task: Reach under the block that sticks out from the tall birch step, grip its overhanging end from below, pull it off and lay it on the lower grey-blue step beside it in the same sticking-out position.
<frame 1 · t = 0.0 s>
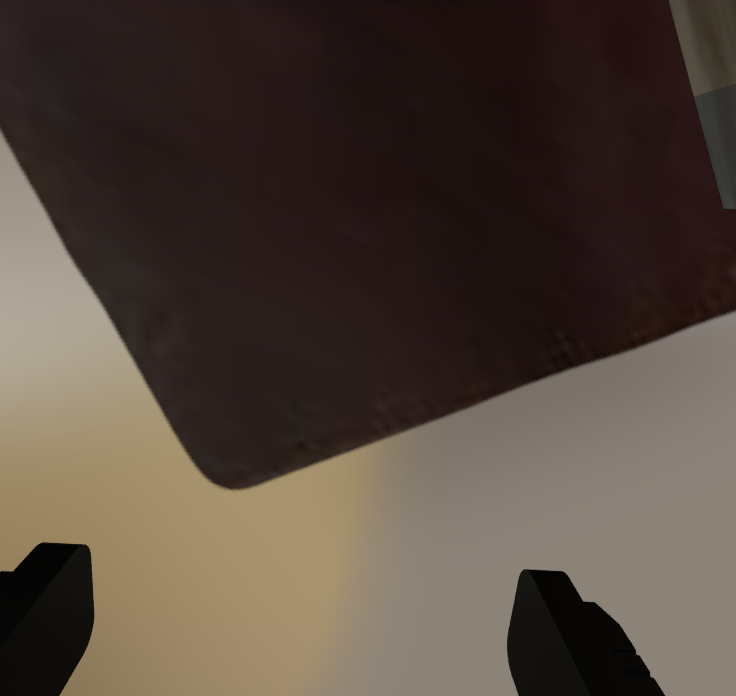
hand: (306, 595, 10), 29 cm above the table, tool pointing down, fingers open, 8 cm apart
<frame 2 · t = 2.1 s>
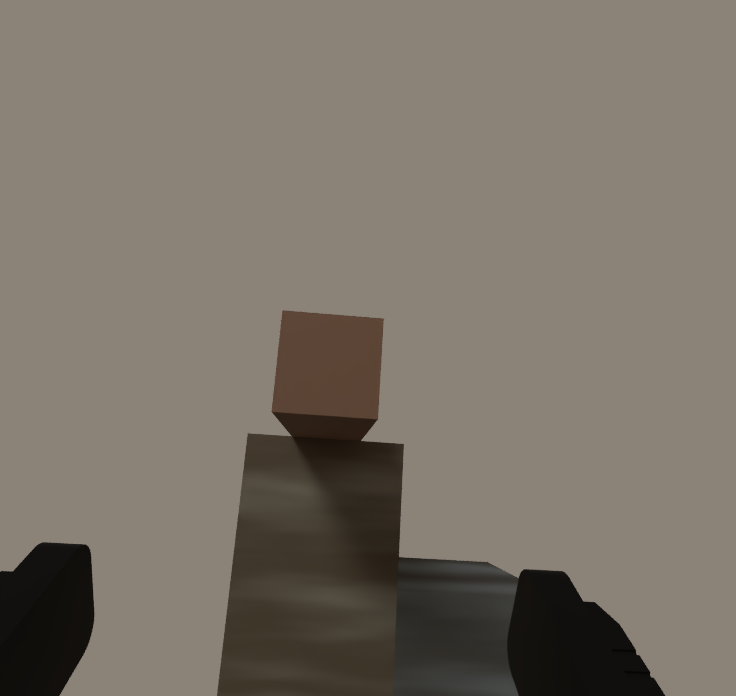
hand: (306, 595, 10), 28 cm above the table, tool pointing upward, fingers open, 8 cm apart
block: (326, 442, 30), point 32 cm above the table, touching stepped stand
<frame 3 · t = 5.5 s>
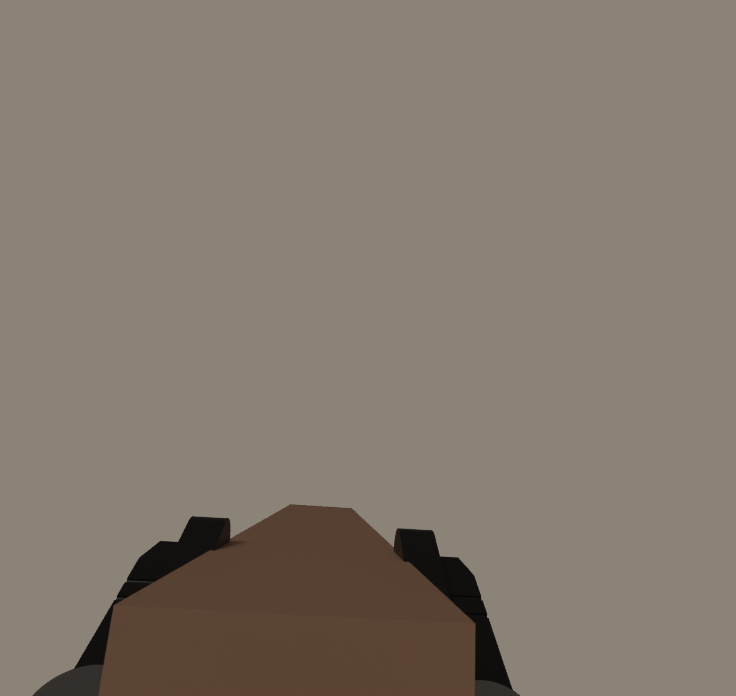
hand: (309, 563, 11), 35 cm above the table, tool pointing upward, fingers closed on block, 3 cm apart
block: (308, 637, 17), point 32 cm above the table, touching gripper, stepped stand
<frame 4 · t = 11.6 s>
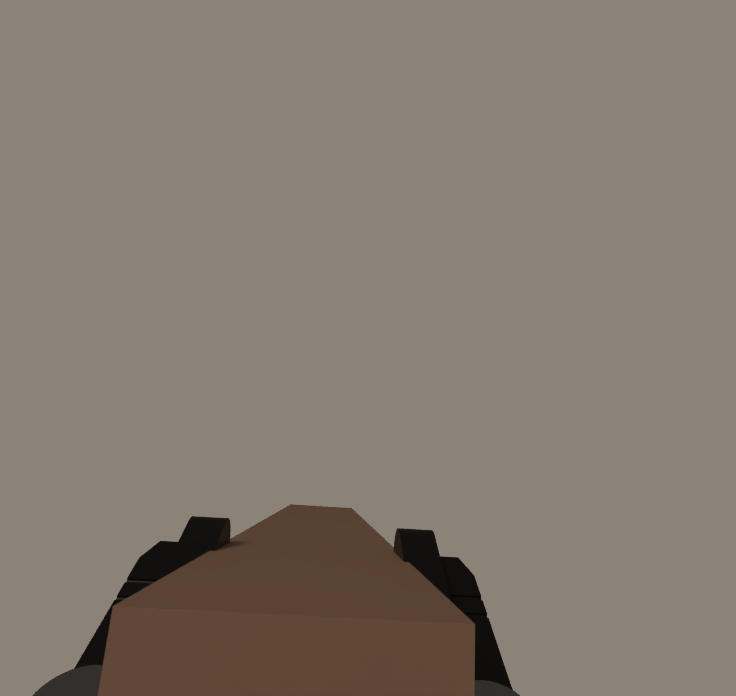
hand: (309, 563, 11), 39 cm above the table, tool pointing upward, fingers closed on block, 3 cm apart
block: (308, 637, 17), point 36 cm above the table, touching gripper
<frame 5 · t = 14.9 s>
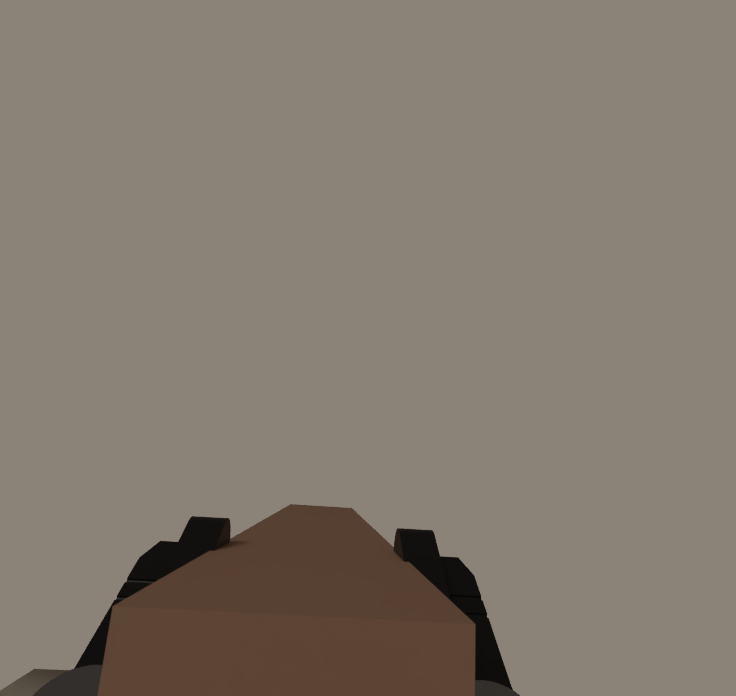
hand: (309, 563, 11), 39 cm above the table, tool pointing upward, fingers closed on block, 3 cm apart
block: (308, 637, 17), point 36 cm above the table, touching gripper
when the fingers open (30 cm above the table, at t = 17.9 s): block drops 2 cm, resting on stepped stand.
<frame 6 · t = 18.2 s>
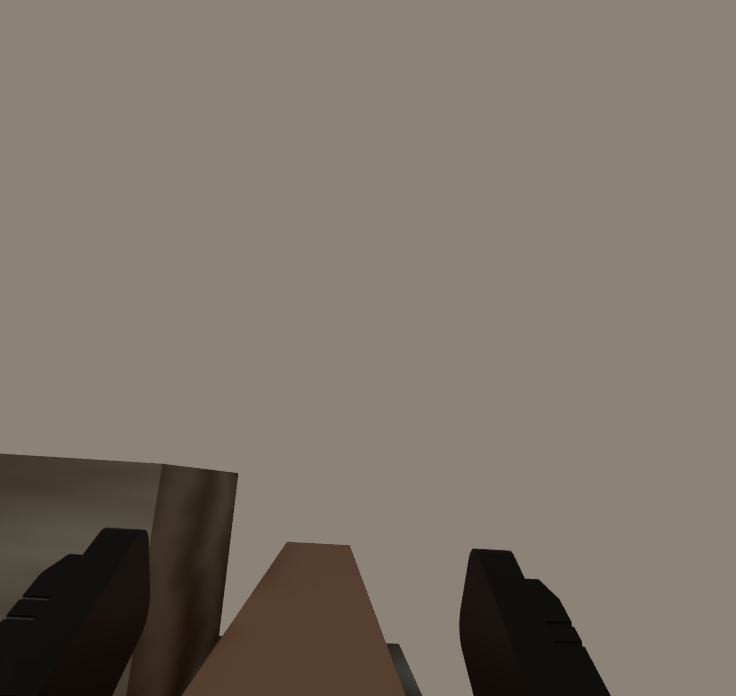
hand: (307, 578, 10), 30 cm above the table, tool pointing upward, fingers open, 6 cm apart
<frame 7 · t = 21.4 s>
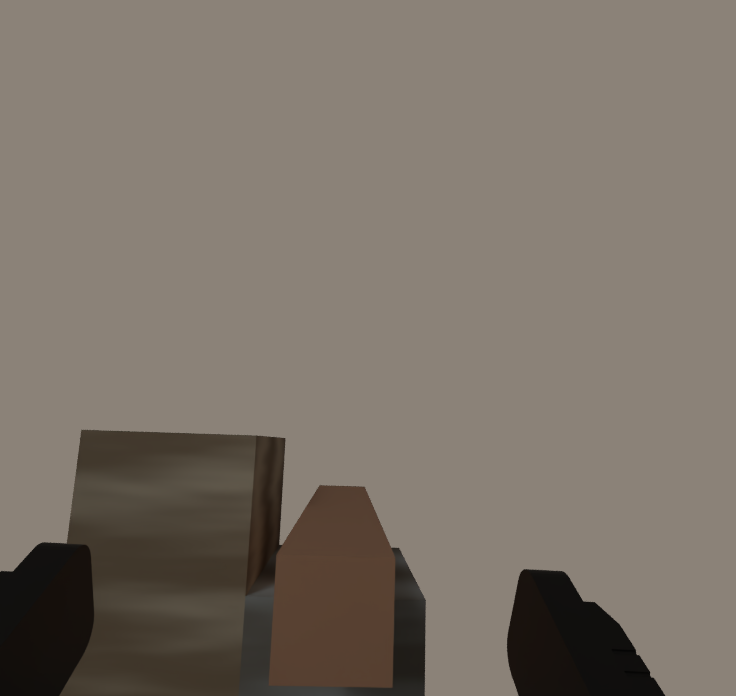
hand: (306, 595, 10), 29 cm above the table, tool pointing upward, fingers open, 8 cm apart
block: (337, 574, 28), point 25 cm above the table, touching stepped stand
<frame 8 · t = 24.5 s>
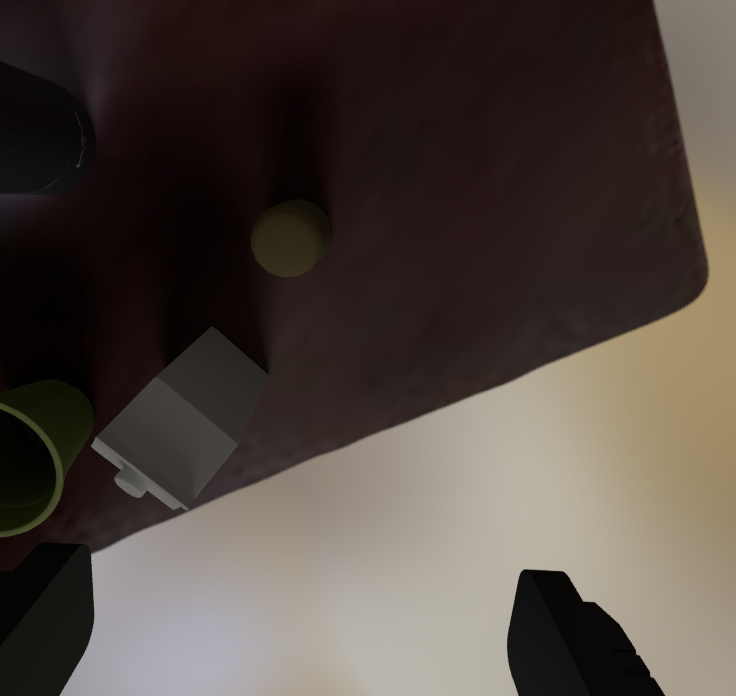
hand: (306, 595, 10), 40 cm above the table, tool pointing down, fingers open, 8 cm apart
plant pot: (60, 412, 51), on the table
milk carton: (217, 375, 51), on the table
olive cylinder: (298, 233, 47), on the table
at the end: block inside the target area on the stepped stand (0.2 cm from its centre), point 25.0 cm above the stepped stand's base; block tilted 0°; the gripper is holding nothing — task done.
